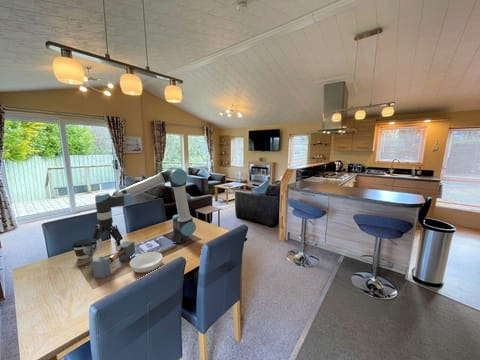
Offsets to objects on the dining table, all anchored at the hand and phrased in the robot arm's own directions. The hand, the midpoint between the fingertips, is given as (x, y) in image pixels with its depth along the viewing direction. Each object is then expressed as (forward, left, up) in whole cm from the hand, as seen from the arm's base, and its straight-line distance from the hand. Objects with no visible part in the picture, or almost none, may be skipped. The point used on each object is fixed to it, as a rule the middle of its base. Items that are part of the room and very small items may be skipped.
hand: (109, 249), depth 124 cm
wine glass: (+17, -2, -14) cm, 22 cm away
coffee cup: (+31, -8, -14) cm, 35 cm away
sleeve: (0, -15, -14) cm, 20 cm away
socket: (0, +6, -14) cm, 15 cm away
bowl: (-22, -7, -14) cm, 27 cm away
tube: (0, -3, -9) cm, 10 cm away
